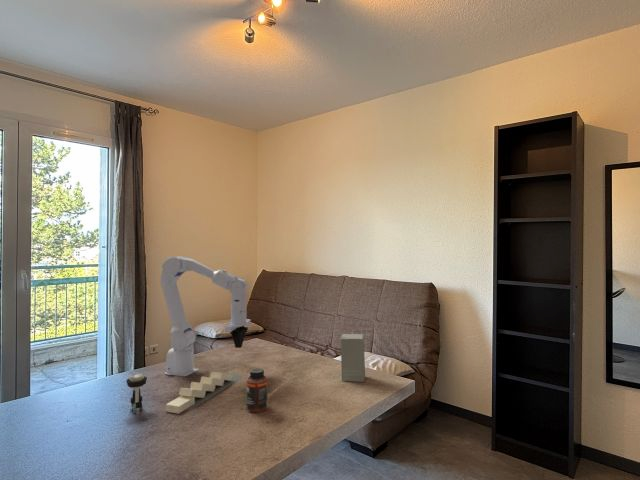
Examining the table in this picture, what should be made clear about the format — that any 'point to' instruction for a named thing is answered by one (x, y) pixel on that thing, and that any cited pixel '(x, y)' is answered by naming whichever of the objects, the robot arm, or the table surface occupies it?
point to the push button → (136, 390)
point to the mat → (215, 390)
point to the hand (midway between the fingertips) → (238, 347)
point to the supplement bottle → (256, 391)
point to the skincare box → (353, 357)
